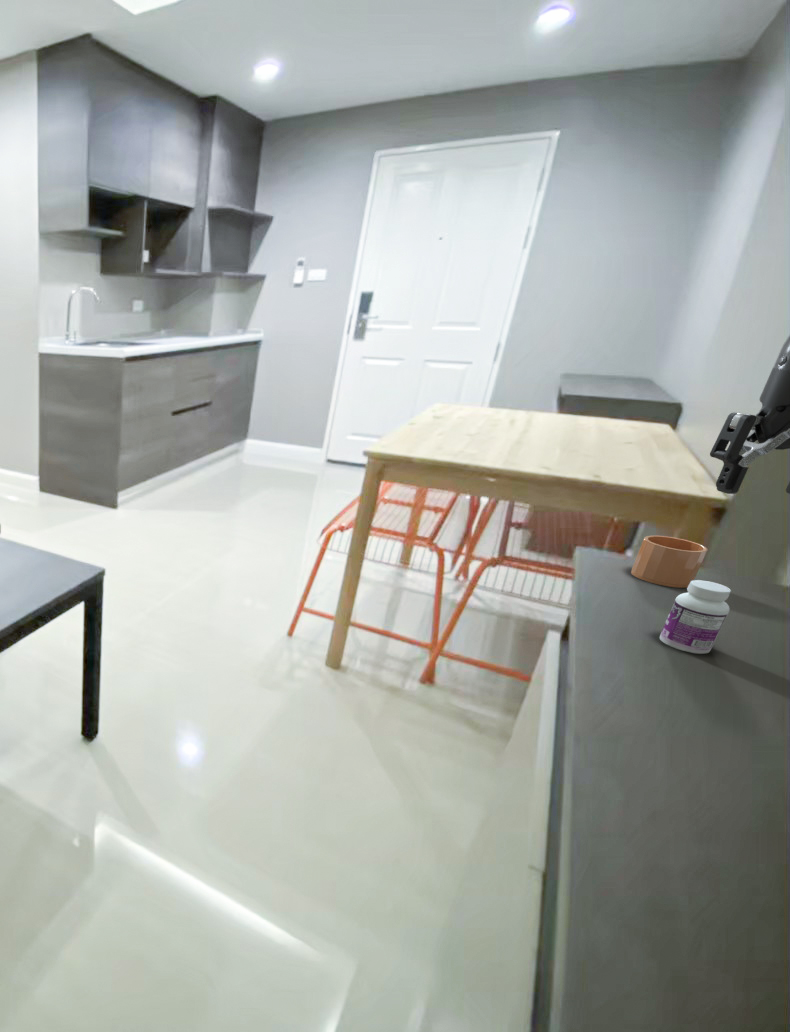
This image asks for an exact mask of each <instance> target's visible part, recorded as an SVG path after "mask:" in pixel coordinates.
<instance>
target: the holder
mask: <svg viewBox="0 0 790 1032" xmlns="http://www.w3.org/2000/svg"><path fill="white" fill-rule="evenodd" d="M707 552H708V547H706V546H705V545H703V544H701V543H697V542H694V541H691V540H688V539H683V538H679V537H674V536H666V535H647V536H644V538H643V540H642V543H641V545H640V548H639V550H638V552H637V555H636V557H635V560H634V562H633V565H632V568H631V571H630V574H631V575H632V576H634V577H635V578H637V579H639V580H642V581H644V582H647V583H651V584H655V585H659V586H664V587H669V588H679V589H680V588H681V589H683V588H685V589H687V588H688V586H689V584H690V582H691V581H693V580H696V579H695V578H696V577H697V575H698V572H699V570H700V569H701V568H700V567H701V565H702V562H703V561H704V560H705V559H704V558H705V557H706V554H707Z"/></svg>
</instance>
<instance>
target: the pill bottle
mask: <svg viewBox="0 0 790 1032" xmlns="http://www.w3.org/2000/svg"><path fill="white" fill-rule="evenodd" d="M686 590H687V592H683V593H680V594H678V595H677V596H676V598H675V599H674V601H673V604H672V606H671V609H670V611H669V613H668V615H667V618H666V620H665V623H664V625H663V628H662V630H661V632H660V635H659V640H660V641H661V642H662V643H664V644H665V645H667V646H669V647H671V648H674V649H676V650H679V651H683V652H687V653H691V654H699V655H701V654H702V655H704V654H709V653H710V652H711V650H712V648H713V646H714V644H715V641H716V640H717V637H718V636H719V634H720V631H721V629H722V627H723V625H724V623H725V621H726V618H727V617H728V615H729V613H730V611H731V610H730V606H729V604H728V603H727V602H726V600H728V599H729V597H730V594H731V592H732V589H730V588H729V587H728V586H726V585H724V584H720V583H717V582H714V581H708V580H701V579H694V580H693V581H691V582H690V584H689V586H688V587H686Z"/></svg>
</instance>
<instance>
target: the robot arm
mask: <svg viewBox="0 0 790 1032" xmlns="http://www.w3.org/2000/svg"><path fill="white" fill-rule="evenodd" d="M759 402H760V403H761V408H760V410H758V412H757V413H756V414H750V413H743V412H737V411H732V412H731V413H729V414H728V415H727V417H726V420H725V421H724V424H723V425H722V428H721V430H720V432H719V434H718V436H717V438H716V440H715V443H714V444H713V446H712V448H711V450H710V452H709V456H710V457H711V458H715V459H717V460H720V461H722V463H723V465H722V467H721V470H720V472H719V475H718V477H717V479H716V482H715V487H716V490H717V491H718V492H721V493H724V494H728V495H736V494H737V493H738V492H739V490H740V489H741V485H742V483H743V480H744V479H745V477H746V474H747V472H748V470H749V465H750V464H752V463H753V462H754V461H755V460H756V459H758V458H760V457H761V456H765V455H768V454H770V453H771V452H772V451H773V450H779V451H783V450H788V449H790V334H789V335H788V336H787V337H786V339H785V341H784V342H783V344H782V346H781V348H780V350H779V352H778V355H777V357H776V359H775V361H774V364H773V366H772V368H771V371H770V373H769V375H768V377H767V380H766V382H765V384H764V387H763V388H762V392H761V394H760V396H759ZM785 492H786V494H789V495H790V481H789V482H788V484H787V486H786V488H785Z"/></svg>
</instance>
